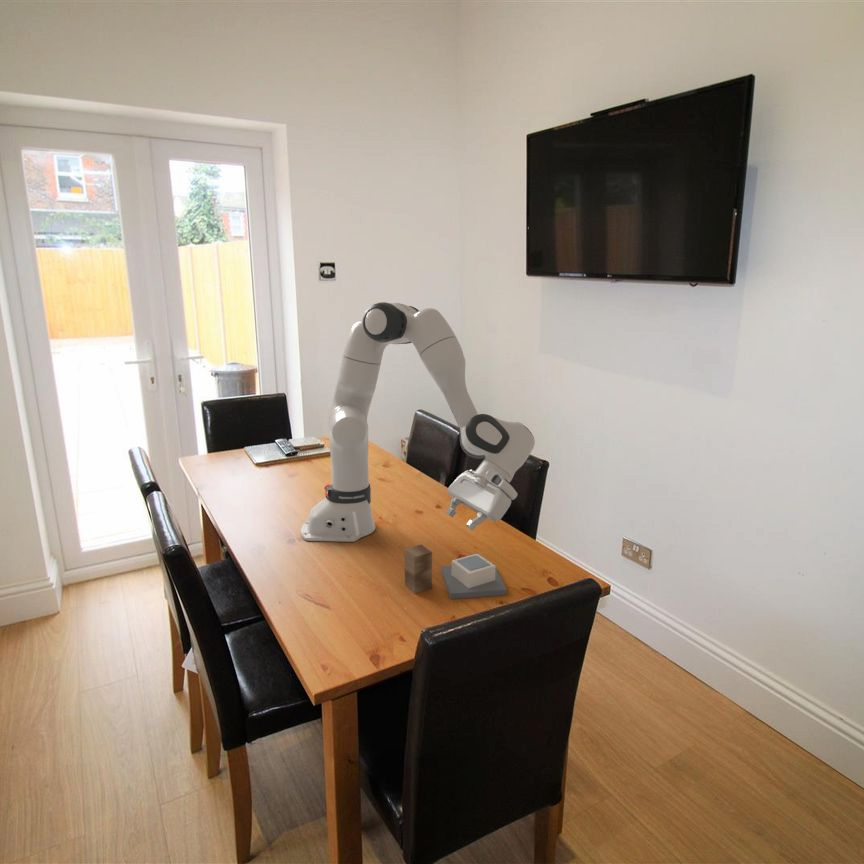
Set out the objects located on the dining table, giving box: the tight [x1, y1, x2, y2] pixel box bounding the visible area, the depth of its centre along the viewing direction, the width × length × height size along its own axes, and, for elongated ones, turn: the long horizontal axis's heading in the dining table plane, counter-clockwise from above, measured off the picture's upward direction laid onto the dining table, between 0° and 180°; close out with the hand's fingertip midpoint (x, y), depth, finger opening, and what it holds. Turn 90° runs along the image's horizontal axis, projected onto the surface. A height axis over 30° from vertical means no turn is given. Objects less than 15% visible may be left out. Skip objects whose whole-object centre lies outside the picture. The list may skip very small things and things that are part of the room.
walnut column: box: [403, 544, 433, 595], centre depth 154 cm, size 5×5×10 cm
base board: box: [441, 553, 508, 600], centre depth 156 cm, size 14×14×6 cm
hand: (458, 521), depth 157 cm, fingers open, 8 cm apart
